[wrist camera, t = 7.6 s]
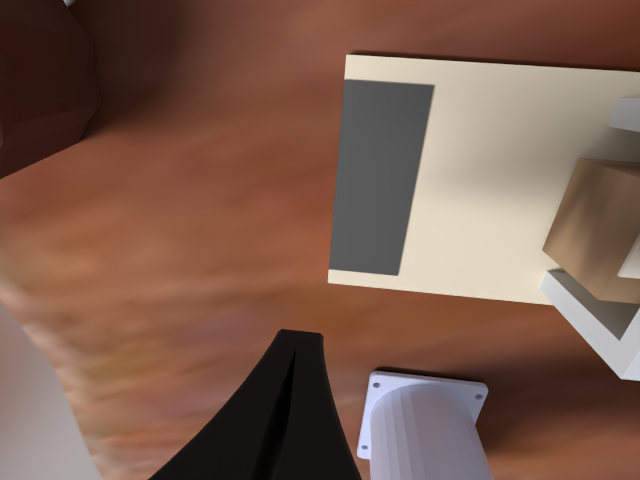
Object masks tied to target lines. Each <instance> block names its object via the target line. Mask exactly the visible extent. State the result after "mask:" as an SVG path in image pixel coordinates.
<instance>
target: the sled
mask: <svg viewBox="0 0 640 480" xmlns="http://www.w3.org/2000/svg"><path fill="white" fill-rule="evenodd" d="M542 251H543V252H545V253H546V254H547V255H548V256H549V257H550V258H551V259H553V260H554V261H555V262H556V263H557V264H558V265H559V266H560V267H562V268H563V269H564V270H565V271H566V272H567V273H568V274H570V275H571V276H572V277H573V278H574V279H575V280H576V281H577V282H579V283H580V284H581V285H582V286H583V287H584V288H585V289H587V290H588V291H589V292H590V293H591V294H592V295H593V296H594V297H596V298H597V299H598V300H603V301H614V302H624V303H634V304H640V162H626V161H613V160H600V159H586V158H579V159H578V161H577V164H576V166H575V169H574V171H573V174H572V176H571V179H570V181H569V184H568V186H567V189H566V191H565V194H564V196H563V199H562V201H561V203H560V206H559V208H558V211H557V213H556V216H555V218H554V221H553V223H552V226H551V228H550V231H549V233H548V236H547V238H546V241H545V243H544V246H543V248H542Z"/></svg>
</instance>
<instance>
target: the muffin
mask: <svg viewBox="0 0 640 480" xmlns="http://www.w3.org/2000/svg"><path fill="white" fill-rule="evenodd" d="M101 104H102V102H101V97H100V93H99V88H98V84H97V79H96V75H95V63H94V46H93V41H92V39H91V38H90V37H89V36H88V34H87V33H86V32H85V31H84V29H83V28H82V27H81V25H80V24H79V23H78V22H77V20H76V19H75V18H74V17H73V15H72V14H71V13H70V11H69V9H68V8H67V6H66V4H65V3H64V1H63V0H0V179H2V178H4V177H6V176H8V175H10V174H12V173H14V172H17V171H19V170H21V169H23V168H25V167H27V166H29V165H32V164H34V163H36V162H38V161H40V160H42V159H44V158H47V157H49V156H51V155H53V154H55V153H57V152H59V151H62V150H64V149H66V148H68V147H70V146H72V145H74V144H77V143H79V141H80V139H81V137H82V134H83V132H84V130H85V127H86V125H87V123H88V121H89V120H90V118H91V117H92V116H93V114H94V113H95V112H96V110H97V109H98V108H99V106H100V105H101Z"/></svg>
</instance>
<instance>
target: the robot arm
mask: <svg viewBox="0 0 640 480" xmlns="http://www.w3.org/2000/svg"><path fill="white" fill-rule="evenodd" d="M487 394H488V388H487V386H486V385H485V384H484V383H480V382H471V381H463V380H454V379H445V378H436V377H427V376H418V375H410V374H401V373H392V372H383V371H374V372H372V373H371V375H370V380H369V385H368V391H367V397H366V402H365V408H364V414H363V420H362V425H361V431H360V437H359V442H358V448H357V455H358V457H360V458H363V459H370V476H371V480H494V478H493V475H492V472H491V469H490V466H489V464H488V461H487V458H486V455H485V452H484V450H483V447H482V444H481V441H480V438H479V436H478V433H477V430H476V427H475V423H476V421H477V418H478V416H479V413H480V411H481V408H482V406H483V404H484V401H485V399H486V396H487ZM148 480H362V479H361V476H360V474H359V471H358V469H357V467H356V464H355V462H354V459H353V457H352V454H351V451H350V449H349V446H348V443H347V441H346V438H345V435H344V432H343V429H342V426H341V423H340V420H339V417H338V414H337V410H336V407H335V404H334V400H333V396H332V392H331V388H330V384H329V380H328V376H327V371H326V365H325V359H324V350H323V336H322V335H321V333H313V332H304V331H295V330H285V329H281V330H280V331H278V333H277V335H276V337H275V338H274V340H273V342H272V343H271V345H270V346H269V348H268V349H267V351H266V352H265V354H264V355H263V357H262V358H261V360H260V361H259V362H258V364H257V365H256V366H255V368H254V369H253V370H252V372H251V373H250V374H249V376H248V377H247V378H246V380H245V381H244V382H243V383H242V385H241V386H240V387H239V388H238V389H237V391H236V392H235V393H234V394H233V395H232V397H231V398H230V399H229V400H228V401H227V402H226V404H225V405H224V406H223V407H222V408H221V409H220V410H219V412H218V413H217V414H216V415H215V416H214V417H213V418H212V419H211V420H210V421H209V422H208V423H207V424H206V425H205V426H204V428H203V429H202V430H201V431H200V432H199V433H198V434H197V435H196V436H195V437H194V438H193V439H192V440H191V441H190V442H189V443H187V444H186V445H185V446H184V447H183V448H182V449H181V450H180V451H179V452H178V453H177V454H176V455H175V456H174V457H173V458H172V459H171V460H170V461H168V462H167V463H166V464H165V465H164V466H163V467H162V468H161V469H160V470H158V471H157V472H156V473H155V474H154V475H153V476H152V477H150V478H149V479H148Z"/></svg>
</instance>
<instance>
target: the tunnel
mask: <svg viewBox="0 0 640 480" xmlns="http://www.w3.org/2000/svg"><path fill="white" fill-rule="evenodd" d="M579 158H586V159H600V160H613V161H626V162H640V72H625V71H609V70H592V69H576V68H559V67H543V66H526V65H510V64H493V63H477V62H460V61H444V60H427V59H410V58H394V57H377V56H361V55H346V67H345V80H344V91H343V103H342V116H341V128H340V140H339V152H338V164H337V177H336V189H335V201H334V213H333V225H332V237H331V250H330V262H329V275H328V283H335V284H345V285H355V286H366V287H376V288H386V289H396V290H406V291H416V292H426V293H436V294H446V295H456V296H466V297H476V298H487V299H497V300H507V301H517V302H527V303H537V304H547V305H554V306H555V307H556V308H557V309H558V310H559V311H560V312H561V314H562V315H563V316H564V317H565V318H566V319H567V320H568V321H569V322H570V324H571V325H572V326H573V327H574V328H575V329H576V330H577V331H578V332H579V333H580V335H581V336H582V337H583V338H584V339H585V340H586V341H587V342H588V343H589V344H590V346H591V347H592V348H593V349H594V350H595V351H596V352H597V353H598V354H599V355H600V357H601V358H602V359H603V360H604V361H605V362H606V363H607V364H608V365H609V367H610V368H611V369H612V370H613V371H614V372H615V373H616V374H617V375H618V376H619V378H620V379H628V380H637V381H640V304H634V303H624V302H614V301H603V300H598V299H597V298H596V297H594V296H593V295H592V294H591V293H590V292H589V291H588V290H587V289H585V288H584V287H583V286H582V285H581V284H580V283H579V282H577V281H576V280H575V279H574V278H573V277H572V276H571V275H570V274H568V273H567V272H566V271H565V270H564V269H563V268H562V267H560V266H559V265H558V264H557V263H556V262H555V261H554V260H553V259H551V258H550V257H549V256H548V255H547V254H546V253H545V252H543V251H542V248H543V246H544V243H545V241H546V238H547V236H548V233H549V231H550V228H551V226H552V223H553V221H554V218H555V216H556V213H557V211H558V208H559V206H560V203H561V201H562V199H563V196H564V194H565V191H566V189H567V186H568V184H569V181H570V179H571V176H572V174H573V171H574V169H575V166H576V164H577V161H578V159H579Z"/></svg>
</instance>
